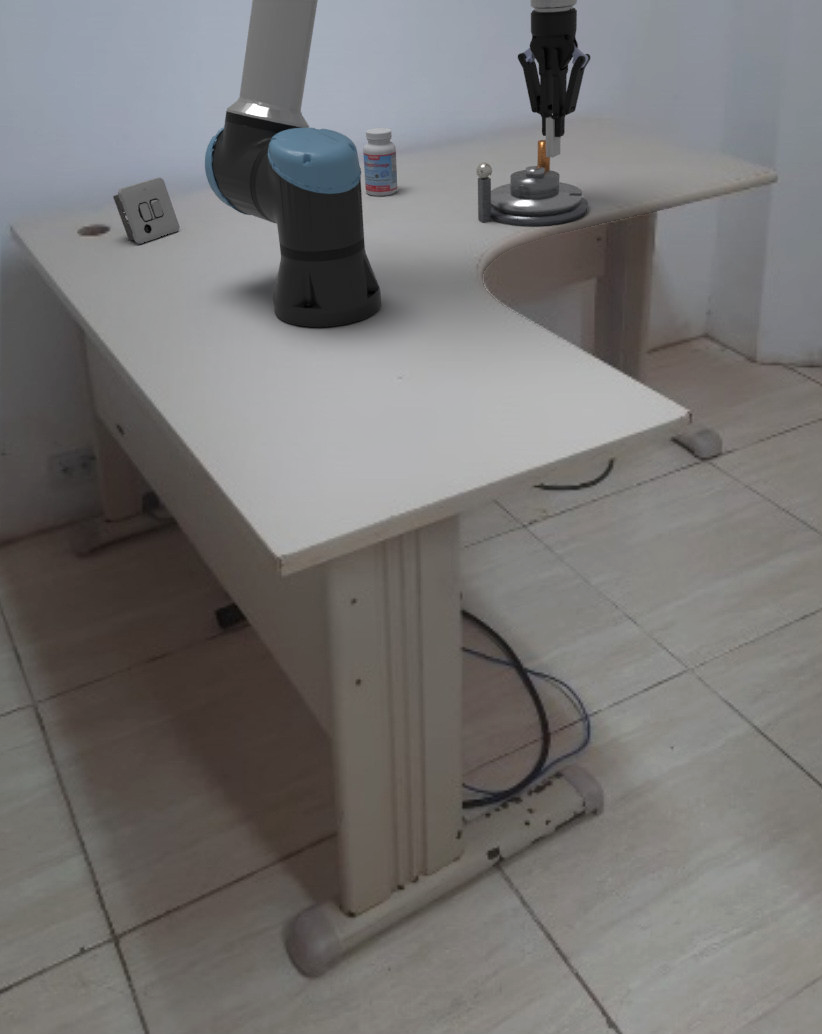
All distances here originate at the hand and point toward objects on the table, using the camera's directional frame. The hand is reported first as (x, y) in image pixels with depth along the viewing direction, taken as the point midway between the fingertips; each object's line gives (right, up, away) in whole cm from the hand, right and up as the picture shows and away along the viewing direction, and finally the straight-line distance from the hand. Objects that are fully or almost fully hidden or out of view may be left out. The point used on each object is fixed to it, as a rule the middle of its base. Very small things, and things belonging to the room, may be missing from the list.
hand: (553, 155), depth 186 cm
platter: (-3, -9, -2) cm, 9 cm away
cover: (-4, -7, -3) cm, 9 cm away
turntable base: (-3, -10, -1) cm, 11 cm away
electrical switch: (-70, -15, -3) cm, 72 cm away
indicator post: (-12, -13, -5) cm, 18 cm away
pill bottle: (-30, -2, +14) cm, 34 cm away
